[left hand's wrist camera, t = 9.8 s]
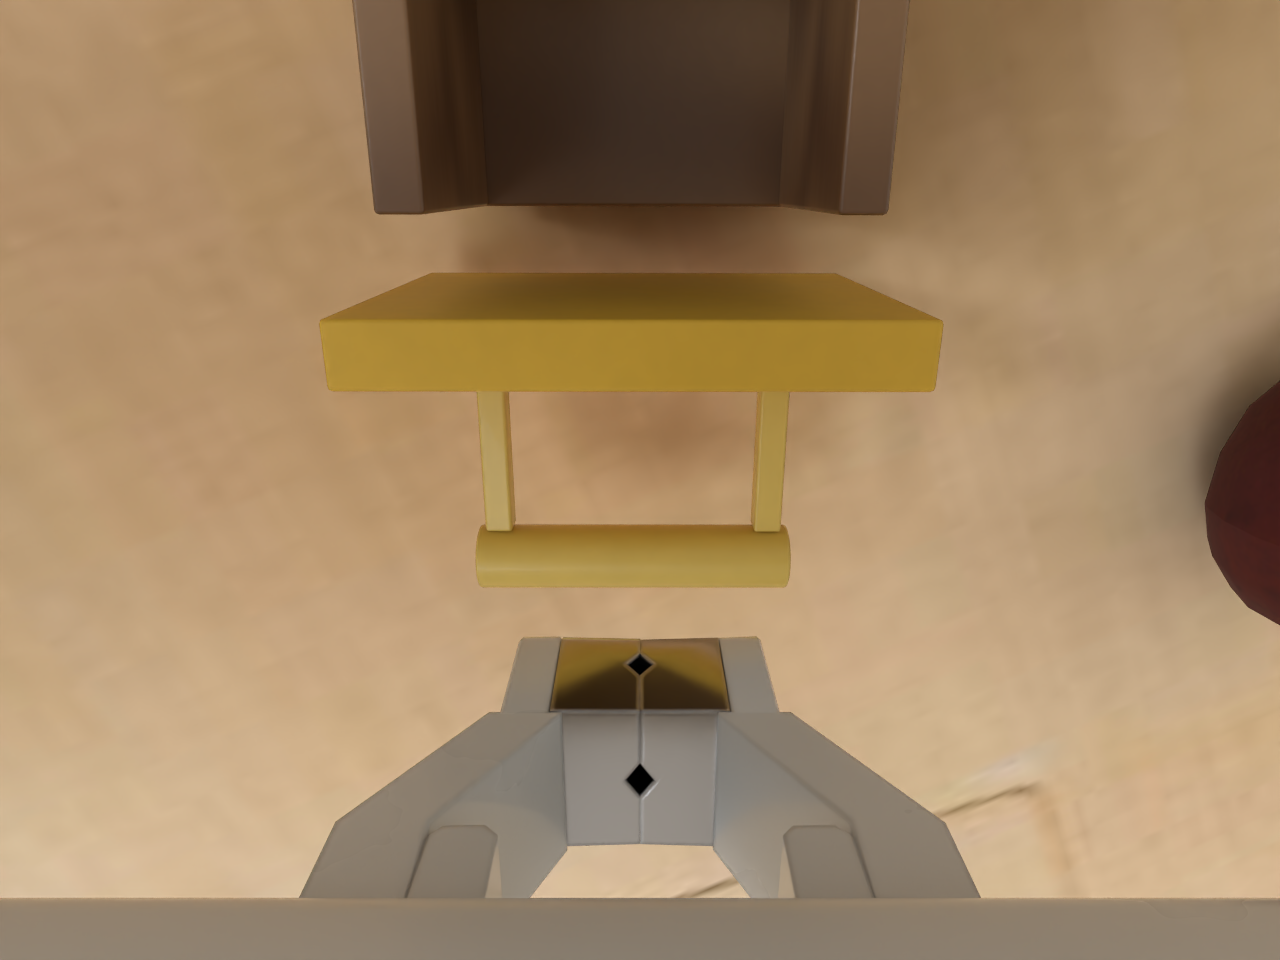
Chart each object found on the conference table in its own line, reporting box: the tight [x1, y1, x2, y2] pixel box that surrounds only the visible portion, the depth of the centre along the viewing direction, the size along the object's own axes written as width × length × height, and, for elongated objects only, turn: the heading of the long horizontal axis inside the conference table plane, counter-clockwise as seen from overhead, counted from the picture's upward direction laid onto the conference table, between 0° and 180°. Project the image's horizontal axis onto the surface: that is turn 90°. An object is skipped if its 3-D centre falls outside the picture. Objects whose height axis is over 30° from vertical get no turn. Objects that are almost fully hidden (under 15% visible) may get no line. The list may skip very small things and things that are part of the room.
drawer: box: [319, 0, 943, 588], centre depth 15 cm, size 23×10×7 cm, turn 0°
